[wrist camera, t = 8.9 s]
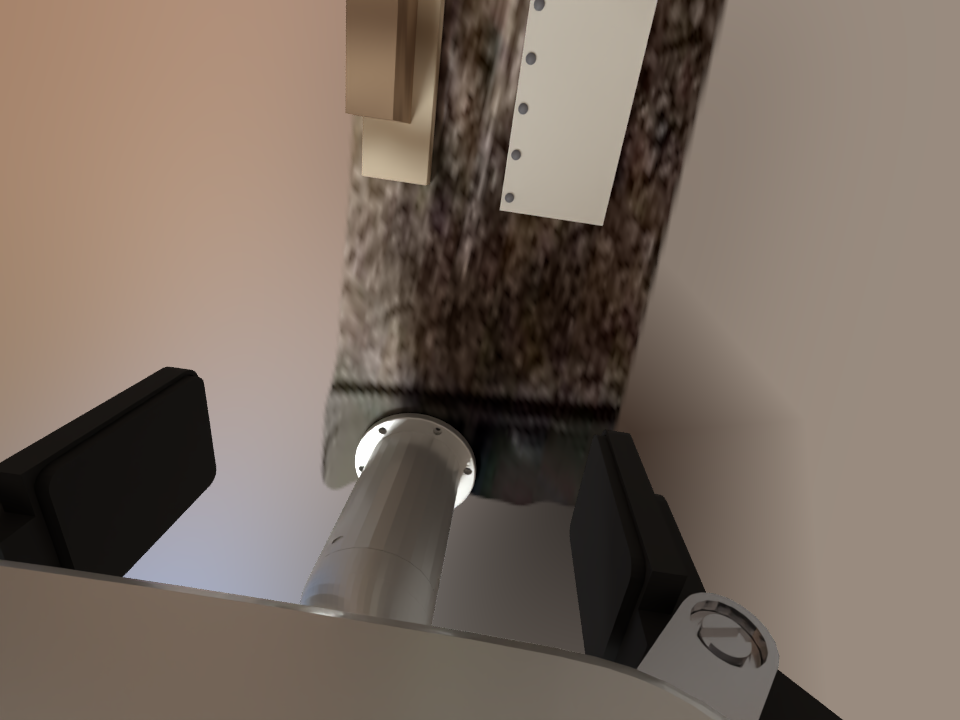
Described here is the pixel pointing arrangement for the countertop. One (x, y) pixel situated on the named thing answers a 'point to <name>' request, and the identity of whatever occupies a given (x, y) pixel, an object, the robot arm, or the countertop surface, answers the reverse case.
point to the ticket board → (574, 105)
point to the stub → (394, 83)
